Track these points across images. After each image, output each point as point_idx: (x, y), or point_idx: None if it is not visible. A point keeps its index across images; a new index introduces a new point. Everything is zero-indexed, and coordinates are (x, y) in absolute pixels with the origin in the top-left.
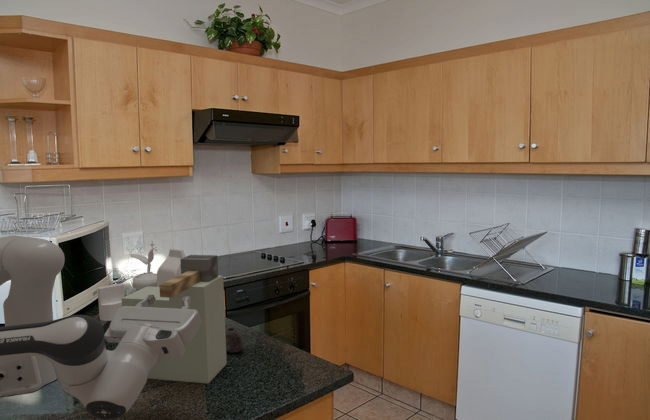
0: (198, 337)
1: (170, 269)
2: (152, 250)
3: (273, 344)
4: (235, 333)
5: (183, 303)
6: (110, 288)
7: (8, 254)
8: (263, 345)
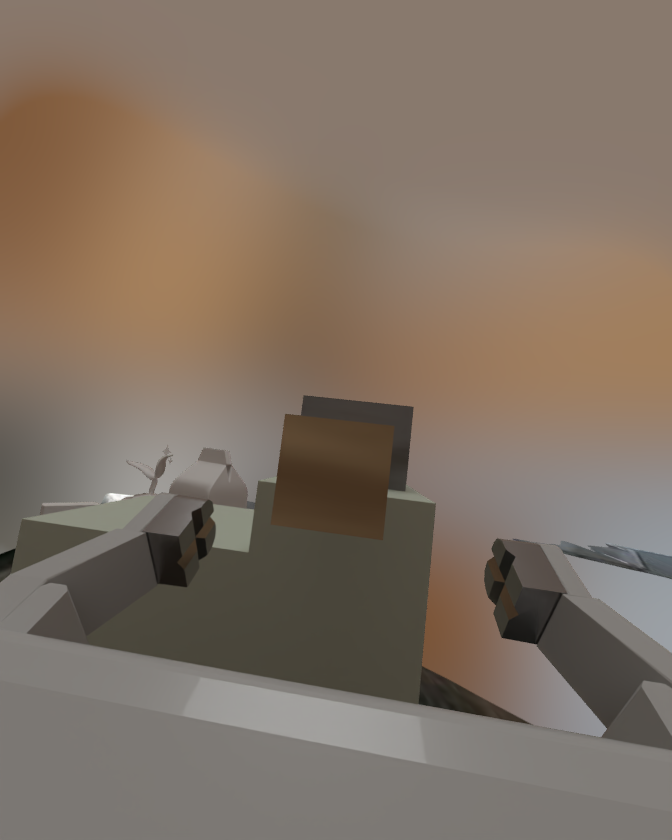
0: None
1: (199, 482)
2: (165, 459)
3: (441, 688)
4: None
5: (525, 615)
6: (69, 508)
7: None
8: (419, 690)
